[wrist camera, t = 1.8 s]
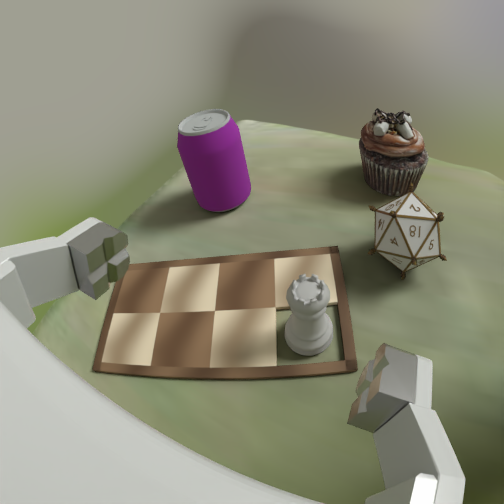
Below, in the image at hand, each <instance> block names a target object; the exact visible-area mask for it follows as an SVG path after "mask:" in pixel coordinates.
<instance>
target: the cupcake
mask: <svg viewBox="0 0 504 504" xmlns="http://www.w3.org/2000/svg"><path fill="white" fill-rule="evenodd" d="M411 122H412V119H411V117H410V114H409V113H406V112H405V111H403V112H398V113H397V114H396V115H394V113H388V114H387V113H385V112H383V111H380V110H379V109H376V110H375V112H374V113H373V115H372V121H370V122H369V123H367V124H366V125H365V126H364V127H363V128H362V130H361V139H360V141H359V149H360V154H361V159H362V166H363V171H364V177H365V180H366V182H367V184H368V185H369V186H370V187H371V188H373V189H374V190H376V191H378V192H380V193H382V194H386V195H389V196H403V195H405V194H406V193H408V192H410V190H409V186H410V184H411V183H412V184H413V186H414V190H415V189H416V187H417V185H418V183H419V180H420V178H421V176H422V174H423V171H424V169H425V167H426V165H427V162H428V158H429V157H428V154H427V151H425V148H424V141H423V137H422V136H421V134H420V133H419V132H418V131H417V130H415V129H414V128H413V127H411V125H410V123H411ZM414 190H413V191H414Z"/></svg>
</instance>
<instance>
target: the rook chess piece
mask: <svg viewBox="0 0 504 504" xmlns="http://www.w3.org/2000/svg"><path fill="white" fill-rule="evenodd" d="M286 299H287V302H288V305H289V306H290V308H291V311H292V314H291V315H290V317H289V319H288V320H287V322H286V325H285V339H286V342H287V345H288V346H289V347H290V348H291V349H292V350H293V351H294V352H296V353H299V354H301V355H311V356H312V355H315V354H318V353H321V352H323V351H324V350H325V349H326V348H327V347H328V346H329V345H330V343H331V341H332V339H333V324H332V322H331V320H330V318H329V316H328V315H327V314H326V313H325V311H326V306H327V304H328V302H329V300H330V290H329V288H328V286H327V285H326V284H325V283H324V281H323V280H320V279H318V276H317V275H315V274H312V276H311V277H306V274H302V275H299V279H297V280H293V282H292V284H291V285H290V286H289V288H288V290H287V294H286Z"/></svg>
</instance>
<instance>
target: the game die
mask: <svg viewBox="0 0 504 504" xmlns="http://www.w3.org/2000/svg"><path fill="white" fill-rule="evenodd" d="M409 190H410V192H408V193H406V194H405V195H403V196H401V197H399V198H397V199H395V200H393V201H391V202H389V203H387V204H385V205H384V206H382V207H380V208H378V209H376V208H375V207H374V206H369V208H370V210H372V211H374V212H375V245H374V249H371V250H369V252H368V254H371V255H372V254H374V253H375V252H377V253H379V254H380V255H381V256H383V257H384V258H385V259H387V260H388V261H389V262H391V263H392V264H393V265H394V266H396V267H397V268H398V269H400V270H401V271H402V273H401V278H402V280H403V279H404V278H405V275H406V274H405V272H406V271H409V270H411V269H413V268H415V267H418V266H420V265H422V264H424V263H427V262H429V261H431V260H433V259H435V258H438V257H440V258H441V259H442V261H443V260H445V261H447V260H446V257H445V256H444V255H442V254H441V246H440V228H439V222H441V221H443V218H444V216H443V213H442V212H439V213H438V214H436V213H435V212H434V211H433V210H432V209H431V208H430V207H429V206H428V205H427V204H425V203H424V202H423V201H422V200H421V199H420V198H419V197H418V196H417V195H416V194H414V193H413V190H414V186H413V184H412V183H411V184H410V186H409Z"/></svg>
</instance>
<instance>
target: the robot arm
mask: <svg viewBox="0 0 504 504" xmlns="http://www.w3.org/2000/svg"><path fill="white" fill-rule="evenodd" d="M127 245H128V238H127V235H126V234H125V233H124V232H122V231H120V230H118V229H116V228H114V227H112V226H110V225H108V224H106V223H104V222H102V221H100V220H98V219H96V218H88V219H86V220H85V221H83V222H81V223H80V224H78V225H76V226H75V227H73V228H72V229H70V230H68V231H67V232H65V233H64V234H62V235H60V236H59V237H57V238H56V237H49V238H44V239H39V240H34V241H30V242H25V243H20V244H15V245H11V246H6V247H2V248H0V504H325V503H321V502H318V501H314V500H311V499H308V498H304V497H301V496H298V495H295V494H292V493H289V492H286V491H284V490H281V489H278V488H275V487H273V486H270V485H267V484H265V483H262V482H260V481H257V480H255V479H252V478H250V477H247V476H245V475H243V474H240V473H238V472H236V471H234V470H231V469H229V468H227V467H225V466H223V465H220V464H218V463H216V462H214V461H212V460H210V459H208V458H206V457H204V456H202V455H200V454H198V453H196V452H194V451H193V450H191V449H189V448H187V447H185V446H183V445H181V444H180V443H178V442H176V441H174V440H172V439H171V438H169V437H167V436H166V435H164V434H162V433H161V432H159V431H157V430H156V429H154V428H152V427H151V426H149V425H147V424H146V423H144V422H143V421H141V420H140V419H138V418H137V417H135V416H133V415H132V414H130V413H129V412H127V411H126V410H125V409H123V408H122V407H120V406H119V405H117V404H116V403H114V402H113V401H112V400H110V399H109V398H108V397H106V396H105V395H103V394H102V393H101V392H99V391H98V390H97V389H95V388H94V387H93V386H91V385H90V384H89V383H88V382H86V381H85V380H84V379H83V378H81V377H80V376H79V375H78V374H76V373H75V372H74V371H73V370H72V369H70V368H69V367H68V366H67V365H66V364H64V363H63V362H62V361H61V360H60V359H59V358H57V357H56V356H55V355H54V354H53V353H52V352H51V351H50V350H49V349H47V348H46V347H45V346H44V345H43V344H42V343H41V342H40V341H39V340H38V339H37V338H36V337H35V336H34V335H33V334H32V333H31V332H29V330H28V329H27V327H29V326H30V325H31V324H32V323H33V322H34V321H35V318H36V317H35V315H34V312H33V310H32V307H35V306H38V305H40V304H43V303H46V302H49V301H52V300H54V299H57V298H60V297H63V296H65V295H68V294H71V293H74V292H76V291H79V290H81V291H82V292H84V293H85V294H87V295H88V296H90V297H92V298H93V299H95V300H97V299H98V298H99V297H100V296H101V295H102V294H104V293H105V292H106V291H107V290H108V289H109V288H110V283H112V282H116V281H119V280H120V279H121V278H122V277H123V276H124V275H125V273H126V272H127V270H128V268H129V263H130V259H129V254H128V252H127V250H126V247H127ZM356 393H357V396H358V398H357V399H356V400H355V401H354V403H353V404H352V407H351V411H350V414H349V418H348V422H347V424H349V425H352V426H355V427H358V428H360V429H363V430H366V431H369V432H372V433H374V434H373V437H374V441H375V445H376V449H377V453H378V457H379V462H380V466H381V470H382V474H383V479H384V483H385V488H386V490H384V491H381V492H379V493H376V494H374V495H371V496H370V497H368V498H366V500H365V503H364V504H462V502H463V495H464V488H465V477H464V474H463V472H462V469H461V467H460V464H459V462H458V460H457V457H456V455H455V453H454V450H453V448H452V446H451V444H450V441H449V439H448V437H447V435H446V432H445V430H444V428H443V426H442V424H441V422H440V420H439V417H438V415H437V413H436V411H435V410H432V409H431V401H432V361H431V360H430V359H427V358H424V357H421V356H419V355H415V354H413V353H410V352H407V351H404V350H401V349H399V348H396V347H393V346H390V345H388V344H385V343H383V344H382V345H381V346H380V347H379V349H378V350H377V351H376V356H375V359H374V360H371V361H369V362H368V364H367V365H366V367H365V368H364V370H363V372H362V374H361V376H360V378H359V381H358V384H357V388H356Z"/></svg>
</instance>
